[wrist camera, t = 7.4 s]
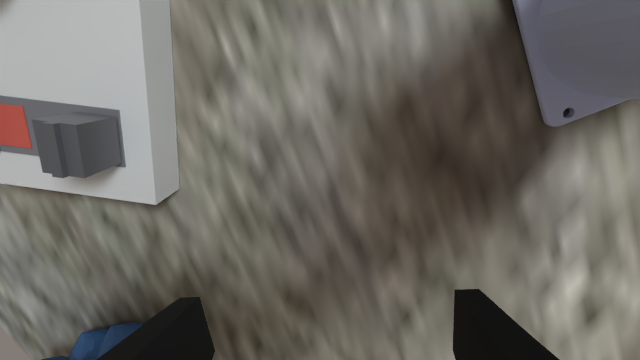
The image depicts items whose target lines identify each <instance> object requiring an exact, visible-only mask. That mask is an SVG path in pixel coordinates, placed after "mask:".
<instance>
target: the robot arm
mask: <svg viewBox="0 0 640 360" xmlns="http://www.w3.org/2000/svg"><path fill="white" fill-rule="evenodd" d="M512 1H513V5H514V9H515V13H516V17H517V21H518V25H519V28H520V32H521V36H522V40H523V44H524V48H525V52H526V56H527V59H528V63H529V67H530V71H531V75H532V79H533V83H534V87H535V90H536V94H537V98H538V102H539V106H540V110H541V114H542V118H543V121H544V123H545V124H546V125H548V126H551V127H558V126H562V125H564V124H567V123H569V122H572V121H575V120H577V119H580V118H583V117H585V116H588V115H590V114H593V113H596V112H598V111H601V110H604V109H606V108H609V107H611V106H614V105H617V104H619V103H622V102H625V101H627V100H630V99H633V100H640V0H512ZM567 108H569V114H568V115H567V116H565V117H564V116H563V112H564V110H565V109H567ZM214 352H215V350H214V346H213V343H212V339H211V336H210V332H209V329H208V325H207V321H206V318H205V314H204V311H203V307H202V304H201V300H200V297H188V298H179V299H178V300H176V301H175V302H173V303H172V304H170V305H169V306H168V307H166V308H165V309H163V310H162V311H161V312H159V313H158V314H157V315H155V316H154V317H153V318H151V319H150V320H149V321H147V322H146V323H145V324H143V325H142V326H141V327H139V328H138V329H137V330H136V331H134V332H133V333H132V334H130V335H129V336H128V337H126V338H125V339H124V340H122V341H121V342H120V343H118V344H117V345H116V346H114V347H113V348H112V349H110V350H109V351H108V352H106V353H105V354H104V355H102V356H101V357H99V358H98V359H97V360H212V358H213V355H214ZM453 352H454V355H455V359H456V360H559V359H558V358H557V357H556V356H554V355H553V354H552V353H551V352H550V351H548V350H547V349H546V348H545V347H544V346H543V345H541V344H540V343H539V342H538V341H537V340H535V339H534V338H533V337H532V336H531V335H530V334H529V333H527V332H526V331H525V330H524V329H523V328H522V327H521V326H519V325H518V324H517V323H516V322H515V321H514V320H513V319H512V318H511V317H509V316H508V315H507V314H506V313H505V312H504V311H503V310H502V309H501V308H499V307H498V306H497V305H496V304H495V303H494V302H493V301H492V300H491V299H489V298H488V297H487V296H486V295H485V294H484V293H483V292H482V291H481V290H479V289H466V290H455V299H454V331H453Z"/></svg>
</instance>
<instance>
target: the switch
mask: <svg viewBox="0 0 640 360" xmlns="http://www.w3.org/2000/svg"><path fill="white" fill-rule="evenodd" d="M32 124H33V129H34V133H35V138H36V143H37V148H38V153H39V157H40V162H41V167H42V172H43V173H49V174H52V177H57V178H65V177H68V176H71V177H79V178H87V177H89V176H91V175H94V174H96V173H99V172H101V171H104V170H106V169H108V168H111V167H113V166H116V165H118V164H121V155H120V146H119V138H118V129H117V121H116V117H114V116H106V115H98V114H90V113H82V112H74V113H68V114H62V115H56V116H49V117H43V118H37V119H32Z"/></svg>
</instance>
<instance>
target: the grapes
mask: <svg viewBox="0 0 640 360" xmlns="http://www.w3.org/2000/svg"><path fill="white" fill-rule="evenodd" d="M142 325H143V324H142V323H125V324H119V325H115V326H111V327H110V328H109V329H99V330H92V331H88V332H84V333H82V334H81V335H80V337H79V339H78V340H77V342H76V344H75V346H74V348H73V349H72V351H71V355H70V358H69V357H64V356H60V357H53V358H47V359H42V360H97V359H98V358H99V357H101V356H102V355H104V354H105V353H106V352H108V351H109V350H110V349H112V348H113V347H114V346H116V345H117V344H118V343H120V342H121V341H122V340H124V339H125V338H126V337H128V336H129V335H130V334H132V333H133V332H134V331H136V330H137V329H138V328H139V327H141V326H142Z"/></svg>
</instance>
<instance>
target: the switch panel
mask: <svg viewBox="0 0 640 360" xmlns="http://www.w3.org/2000/svg"><path fill="white" fill-rule="evenodd" d="M74 112H82V113H90V114H98V115H106V116H114V117H116V121H117V129H118V138H119V146H120V155H121V164H118V165H116V166H113V167H111V168H108V169H106V170H104V171H101V172H99V173H96V174H94V175H91V176H89V177H87V178H79V177H71V176H68V177H65V178H57V177H52V174H49V173H43V172H42V167H41V162H40V157H39V153H38V148H37V143H36V138H35V133H34V129H33V124H32V119H37V118H43V117H49V116H56V115H62V114H68V113H74ZM0 183H2V184H10V185H17V186H24V187H31V188H38V189H45V190H52V191H60V192H67V193H74V194H81V195H88V196H95V197H103V198H110V199H117V200H124V201H131V202H138V203H145V204H153V205H157V204H158V203H160V202H161V201H162V200H164V199H165V198H167V197H168V196H170V195H171V194H173V193H174V192H175V191H177V190H178V189H179V171H178V152H177V133H176V115H175V96H174V77H173V59H172V40H171V21H170V2H169V0H0Z"/></svg>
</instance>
